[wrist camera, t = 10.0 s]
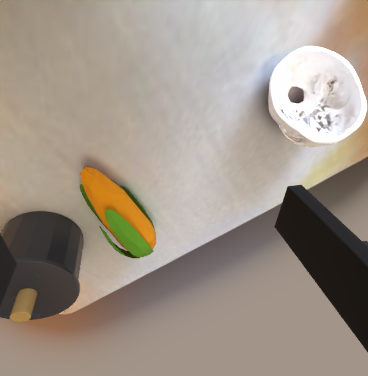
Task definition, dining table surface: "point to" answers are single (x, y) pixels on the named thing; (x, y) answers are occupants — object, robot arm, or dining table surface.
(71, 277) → the pot lid
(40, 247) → the pot
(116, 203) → the corn
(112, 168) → the dining table surface
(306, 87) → the skull bowl
